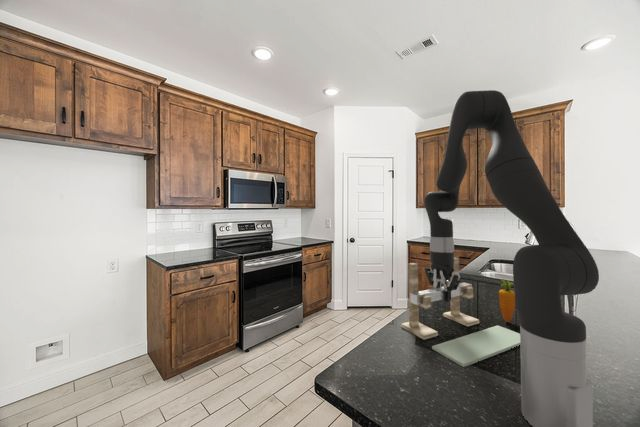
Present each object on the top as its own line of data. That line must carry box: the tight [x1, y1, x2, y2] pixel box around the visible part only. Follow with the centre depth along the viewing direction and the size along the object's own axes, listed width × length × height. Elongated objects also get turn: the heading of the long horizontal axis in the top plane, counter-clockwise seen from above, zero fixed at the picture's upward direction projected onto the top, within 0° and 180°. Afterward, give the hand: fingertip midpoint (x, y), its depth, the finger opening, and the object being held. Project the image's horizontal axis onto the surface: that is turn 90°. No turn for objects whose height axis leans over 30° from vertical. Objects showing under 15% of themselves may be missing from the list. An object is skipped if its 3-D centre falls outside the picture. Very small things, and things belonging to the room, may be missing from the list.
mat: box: [431, 324, 520, 368], centre depth 78 cm, size 10×30×1 cm, turn 114°
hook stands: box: [400, 257, 480, 341], centre depth 91 cm, size 10×26×22 cm, turn 114°
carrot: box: [498, 278, 516, 323], centre depth 92 cm, size 5×5×15 cm
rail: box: [410, 282, 473, 305], centre depth 90 cm, size 3×26×3 cm, turn 114°
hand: (442, 299), depth 90 cm, fingers closed on rail, 3 cm apart
